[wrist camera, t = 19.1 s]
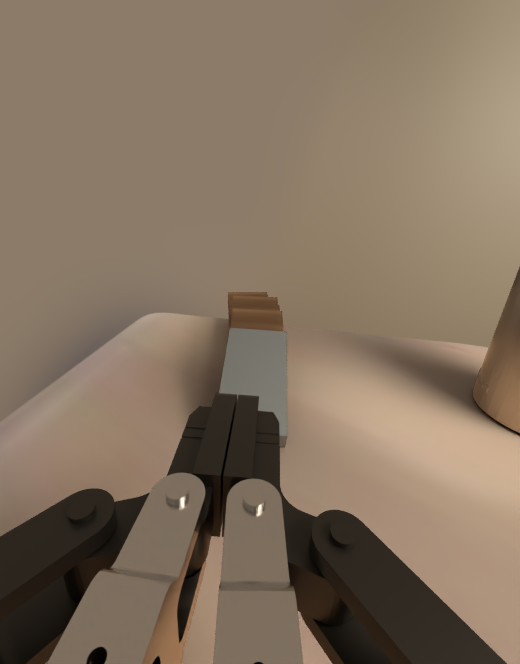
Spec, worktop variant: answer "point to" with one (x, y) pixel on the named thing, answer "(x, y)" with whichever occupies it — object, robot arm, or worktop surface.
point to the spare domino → (258, 370)
